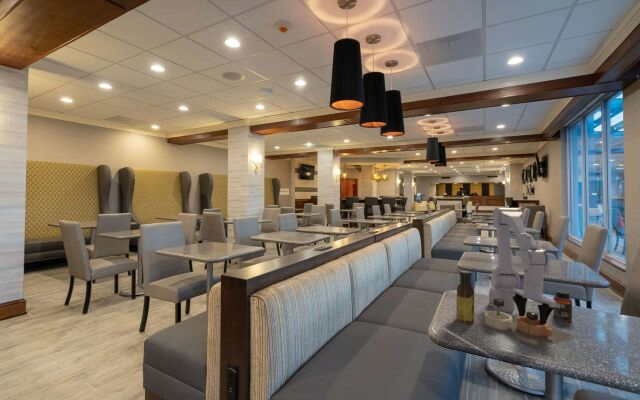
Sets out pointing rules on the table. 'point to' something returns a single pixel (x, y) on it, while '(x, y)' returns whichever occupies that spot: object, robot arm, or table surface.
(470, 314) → the sauce bottle
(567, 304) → the supplement bottle
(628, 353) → the table surface
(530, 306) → the table surface
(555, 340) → the slate board
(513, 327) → the cream pot
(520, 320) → the terracotta pot
